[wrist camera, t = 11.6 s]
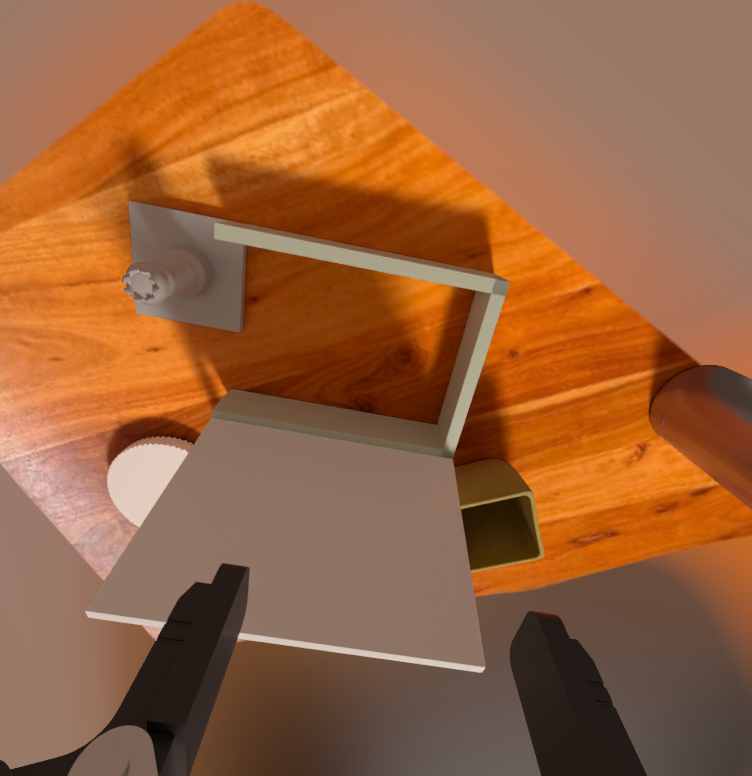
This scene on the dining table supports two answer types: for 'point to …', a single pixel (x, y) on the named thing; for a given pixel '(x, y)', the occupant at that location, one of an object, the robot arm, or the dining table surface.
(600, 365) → the dining table surface
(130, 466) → the plastic lid
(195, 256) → the rook chess piece
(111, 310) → the dining table surface
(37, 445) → the dining table surface
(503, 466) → the flower pot
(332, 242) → the frame
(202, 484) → the lid propped
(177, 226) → the slate tile
